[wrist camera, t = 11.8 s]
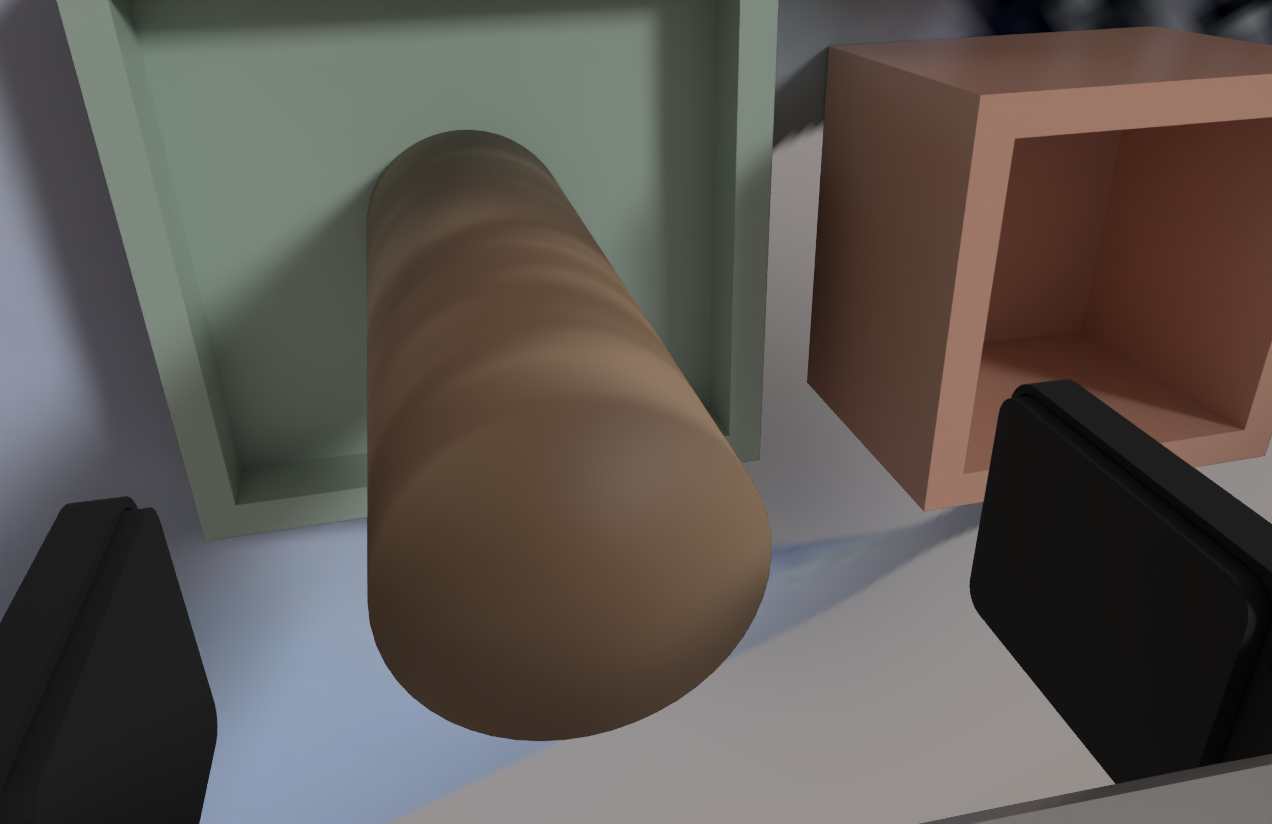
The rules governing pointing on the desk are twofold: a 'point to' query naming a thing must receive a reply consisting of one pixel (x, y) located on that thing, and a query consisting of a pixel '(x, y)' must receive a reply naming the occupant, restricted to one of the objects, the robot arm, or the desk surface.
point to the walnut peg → (536, 463)
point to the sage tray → (350, 169)
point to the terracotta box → (1044, 242)
